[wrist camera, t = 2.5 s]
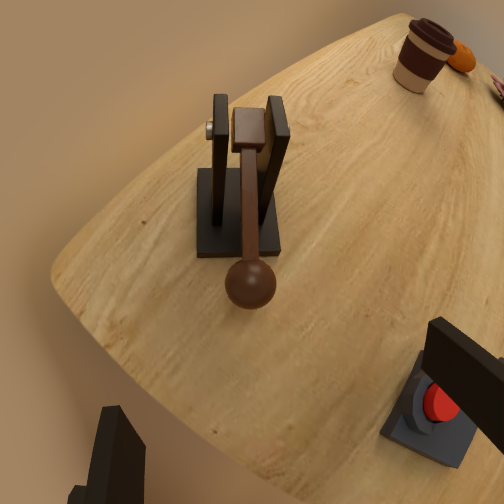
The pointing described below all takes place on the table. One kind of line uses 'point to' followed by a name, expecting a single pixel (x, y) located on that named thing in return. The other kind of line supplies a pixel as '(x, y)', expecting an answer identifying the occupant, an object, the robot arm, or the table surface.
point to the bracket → (228, 185)
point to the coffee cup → (423, 54)
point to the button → (438, 404)
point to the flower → (499, 86)
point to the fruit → (462, 58)
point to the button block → (427, 424)
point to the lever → (249, 214)
